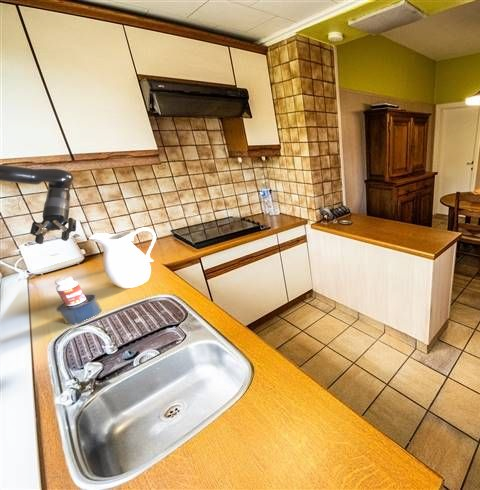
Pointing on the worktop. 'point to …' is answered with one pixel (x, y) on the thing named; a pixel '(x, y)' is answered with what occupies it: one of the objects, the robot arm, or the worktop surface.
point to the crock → (80, 310)
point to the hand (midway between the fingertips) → (51, 241)
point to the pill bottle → (69, 291)
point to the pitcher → (125, 258)
